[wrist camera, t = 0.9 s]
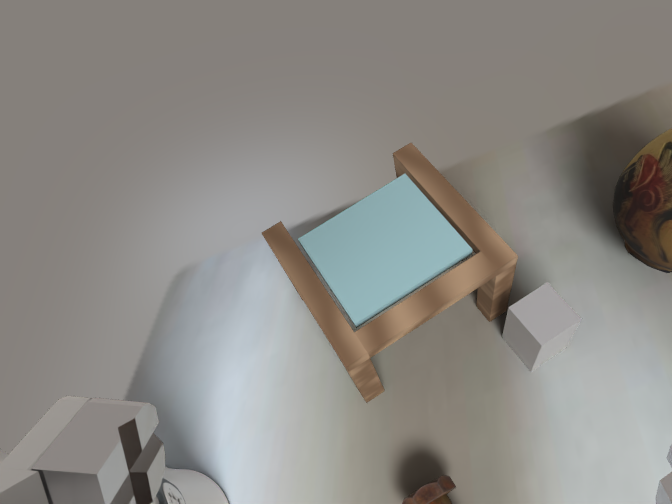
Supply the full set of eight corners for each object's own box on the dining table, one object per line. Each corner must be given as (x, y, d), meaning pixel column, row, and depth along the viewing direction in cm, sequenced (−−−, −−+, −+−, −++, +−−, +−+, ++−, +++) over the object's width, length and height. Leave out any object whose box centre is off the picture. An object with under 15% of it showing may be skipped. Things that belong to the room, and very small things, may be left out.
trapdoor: (356, 327, 54) (354, 324, 53) (300, 243, 60) (297, 238, 59) (472, 253, 55) (472, 249, 54) (405, 178, 61) (405, 173, 60)
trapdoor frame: (366, 402, 63) (345, 367, 51) (293, 286, 72) (261, 232, 60) (506, 310, 65) (517, 255, 53) (418, 208, 74) (411, 142, 62)
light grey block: (530, 371, 61) (541, 345, 53) (502, 337, 64) (508, 307, 56) (566, 348, 62) (582, 318, 54) (536, 314, 64) (547, 281, 56)
